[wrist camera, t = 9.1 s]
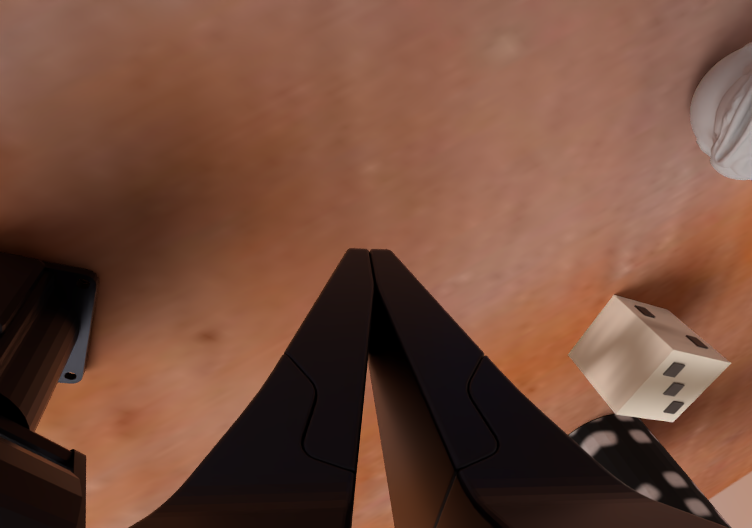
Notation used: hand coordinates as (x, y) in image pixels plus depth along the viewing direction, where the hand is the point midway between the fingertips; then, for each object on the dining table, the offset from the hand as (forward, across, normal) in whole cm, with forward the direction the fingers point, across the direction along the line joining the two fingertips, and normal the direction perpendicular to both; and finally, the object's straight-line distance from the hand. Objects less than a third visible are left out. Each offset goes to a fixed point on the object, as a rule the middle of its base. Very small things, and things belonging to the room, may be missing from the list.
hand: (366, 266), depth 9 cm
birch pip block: (+13, -18, +15) cm, 27 cm away
